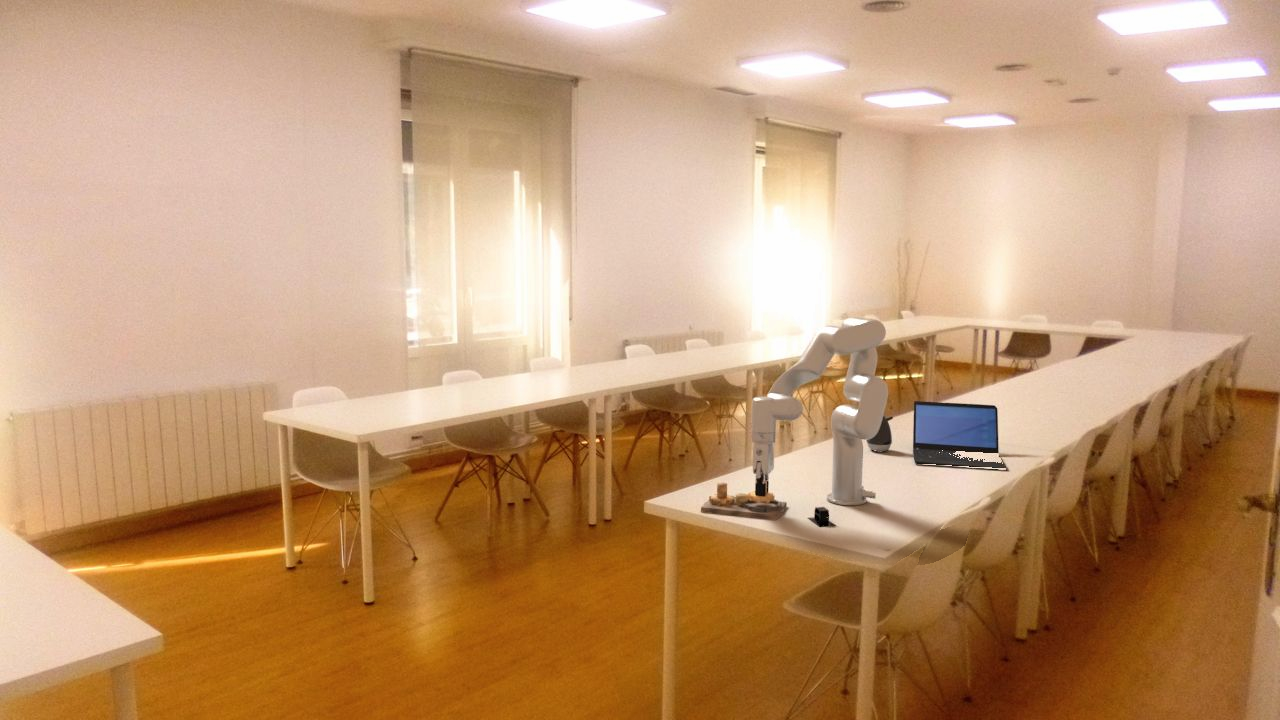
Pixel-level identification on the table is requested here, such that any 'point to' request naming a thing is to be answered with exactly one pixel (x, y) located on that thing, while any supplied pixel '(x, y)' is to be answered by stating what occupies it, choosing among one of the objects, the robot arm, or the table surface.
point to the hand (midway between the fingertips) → (761, 493)
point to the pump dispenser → (881, 437)
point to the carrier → (742, 505)
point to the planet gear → (762, 499)
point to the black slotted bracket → (821, 517)
